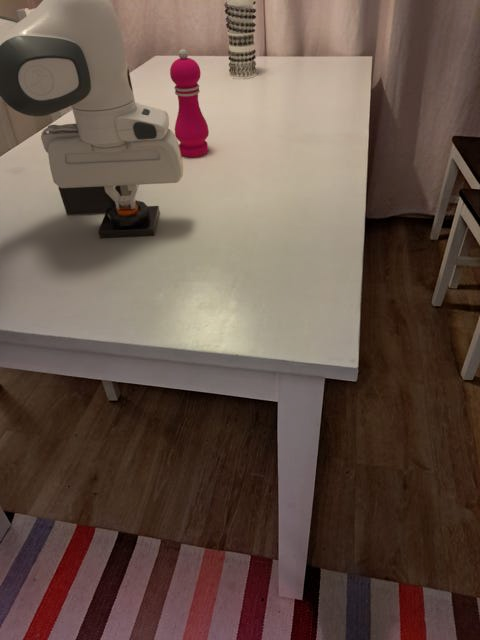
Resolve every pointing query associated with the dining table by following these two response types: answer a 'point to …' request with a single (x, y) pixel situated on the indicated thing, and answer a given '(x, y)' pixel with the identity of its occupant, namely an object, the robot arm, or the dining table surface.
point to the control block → (130, 222)
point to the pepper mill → (189, 107)
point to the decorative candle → (241, 38)
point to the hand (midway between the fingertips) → (126, 208)
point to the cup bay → (89, 199)
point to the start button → (127, 211)
